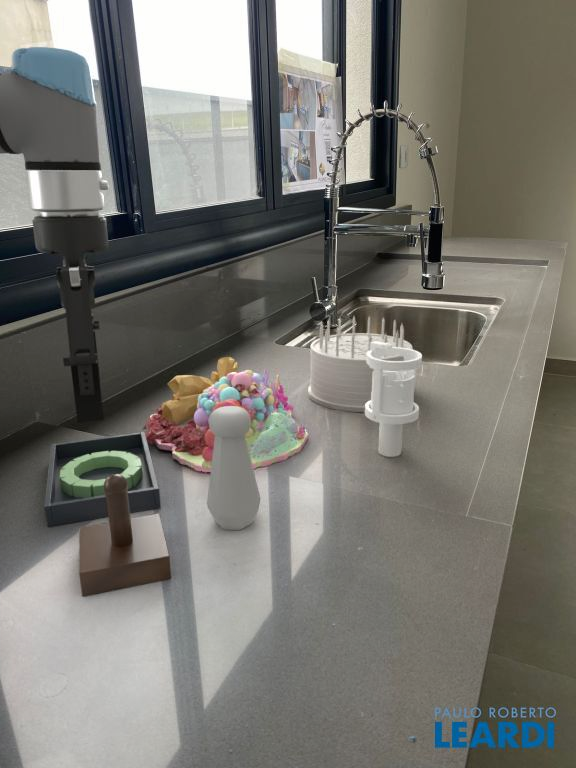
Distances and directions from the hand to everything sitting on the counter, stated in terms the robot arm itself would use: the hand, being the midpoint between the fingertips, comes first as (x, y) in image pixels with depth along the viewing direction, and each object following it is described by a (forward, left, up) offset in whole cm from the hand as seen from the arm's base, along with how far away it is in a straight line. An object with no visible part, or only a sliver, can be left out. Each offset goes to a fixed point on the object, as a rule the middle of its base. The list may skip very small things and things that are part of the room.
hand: (89, 399), depth 72 cm
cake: (+44, +19, -11) cm, 49 cm away
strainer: (+38, -4, -11) cm, 40 cm away
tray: (0, 0, -11) cm, 11 cm away
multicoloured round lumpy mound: (+19, +10, -11) cm, 24 cm away
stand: (+2, -18, -11) cm, 21 cm away
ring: (0, 0, -11) cm, 11 cm away
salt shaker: (+14, -14, -11) cm, 23 cm away
